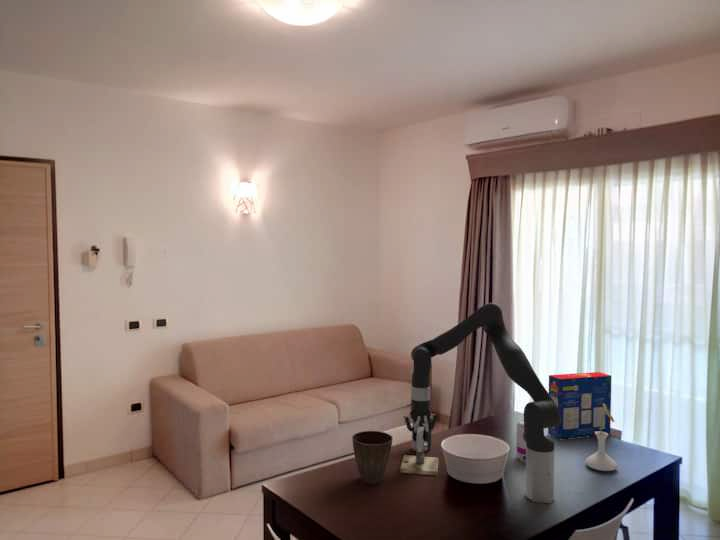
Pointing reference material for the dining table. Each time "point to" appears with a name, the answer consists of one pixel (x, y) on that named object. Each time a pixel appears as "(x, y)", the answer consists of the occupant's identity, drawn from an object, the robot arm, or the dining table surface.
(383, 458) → the plant pot
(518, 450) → the supplement can
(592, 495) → the dining table surface
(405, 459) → the post base
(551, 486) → the robot arm
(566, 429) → the blue product box
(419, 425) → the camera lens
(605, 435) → the flower in vase
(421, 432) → the collar
